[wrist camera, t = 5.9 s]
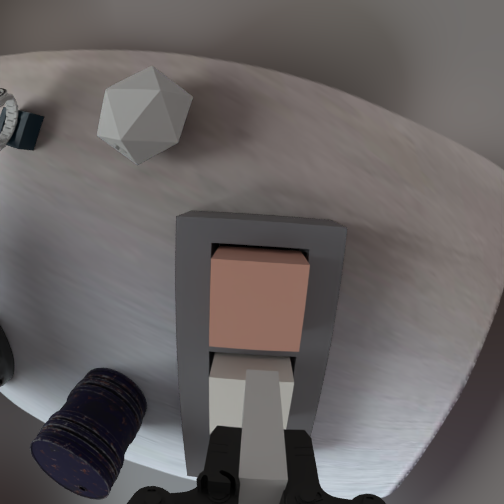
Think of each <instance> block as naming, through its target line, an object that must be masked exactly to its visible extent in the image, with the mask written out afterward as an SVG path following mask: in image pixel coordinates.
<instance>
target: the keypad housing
mask: <svg viewBox="0 0 504 504" xmlns="http://www.w3.org/2000/svg"><path fill="white" fill-rule="evenodd" d="M346 235H347V227H345V226H343V225H340V224H338V223H336V222H334V221H332V220H325V219H313V218H300V217H287V216H273V215H259V214H243V213H226V212H208V211H189V212H186V213H184V214H181V215H178V216H176V251H175V299H176V339H177V362H178V380H179V395H180V408H181V420H182V431H183V441H184V451H185V460H186V468H187V476H193V477H198V476H199V474H200V473H201V472H202V471H204V466H205V461H206V455H207V450H208V445H209V440H210V427H209V375H210V371H211V367H212V363H213V359H214V355H215V352H223V353H236V354H250V355H268V356H290V361H291V367H292V372H293V378H294V387H293V393H292V399H291V405H290V410H289V416H288V422H287V427H286V429H290V430H305V431H306V432H307V433H308V435H309V436H311V432H312V428H313V424H314V420H315V416H316V411H317V407H318V403H319V398H320V394H321V389H322V385H323V380H324V375H325V370H326V366H327V361H328V355H329V350H330V345H331V339H332V334H333V328H334V322H335V316H336V310H337V304H338V297H339V290H340V283H341V276H342V269H343V261H344V253H345V244H346ZM219 243H225V244H240V245H255V246H271V247H285V248H299V251H301V252H302V254H303V255H304V257H305V258H306V260H307V261H308V263H309V264H310V269H309V278H308V287H307V295H306V303H305V311H304V319H303V327H302V334H301V341H300V348H299V352H291V351H268V350H250V349H236V348H223V347H212V346H209V317H210V276H211V258H212V256H213V255H214V253H215V252H216V250H217V249H218V247H219Z"/></svg>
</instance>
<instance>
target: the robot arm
mask: <svg viewBox="0 0 504 504" xmlns="http://www.w3.org/2000/svg"><path fill="white" fill-rule="evenodd" d="M13 372H14V361H13V356H12V352H11V349H10V346H9V343H8V341H7V339H6V336H5V334H4V332H3V330H2V329H1V327H0V387H1V386H3V385H4V384H5V383H6V382H7V381H9V380H10V379H11V377H12V376H13ZM127 504H385V502H384V501H383V500H382V499H381V498H380V497H378V496H376V495H373V494H362V495H359V496H357V497H355V498H354V499H353V500H348V499H342V498H337V497H333V496H331V495H329V494H327V493H326V492H325V491H323V489H322V488H321V486H320V484H319V479H318V473H317V468H316V462H315V457H314V451H313V446H312V440H311V437H310V436H309V435H308V433H307V432H306V431H305V430H290V429H284V428H283V417H282V406H281V395H280V384H279V373H278V371H262V370H249V369H247V370H246V381H245V392H244V403H243V414H242V427H241V428H239V427H228V426H218V425H217V426H216V428H215V429H214V430H213V431H212V432H211V434H210V440H209V445H208V450H207V455H206V461H205V466H204V471H202V472H201V473H200V474H199V476H198V478H197V487H196V488H195V489H193V490H190V491H187V492H182V493H181V492H180V493H169V492H168V491H166V490H164V489H163V488H160V487H156V486H150V487H149V486H147V487H144V488H141V489H139V490H138V491H137V492H136V493H135V494H134V495H133V496H132V498H131V499H130V500H129V502H128V503H127Z"/></svg>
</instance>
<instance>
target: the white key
mask: <svg viewBox="0 0 504 504" xmlns="http://www.w3.org/2000/svg"><path fill="white" fill-rule="evenodd" d="M247 369H249V370H262V371H278V373H279V384H280V395H281V406H282V417H283V428H284V429H286V427H287V422H288V416H289V410H290V405H291V399H292V393H293V387H294V378H293V372H292V367H291V361H290V356H268V355H250V354H236V353H223V352H215V355H214V359H213V363H212V367H211V371H210V375H209V427H210V434H211V432H212V431H213V430H214V429H215V428H216V426H217V425H218V426H228V427H239V428H241V427H242V414H243V403H244V392H245V381H246V370H247Z"/></svg>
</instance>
